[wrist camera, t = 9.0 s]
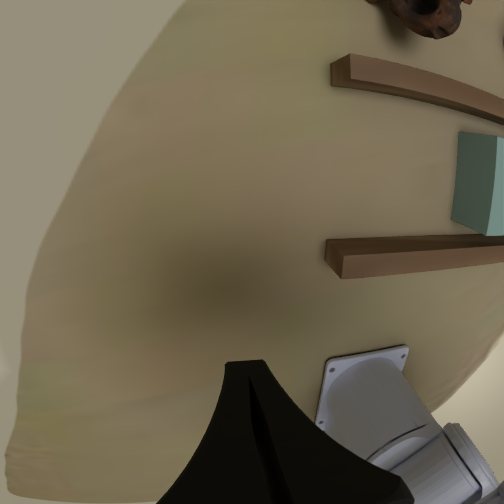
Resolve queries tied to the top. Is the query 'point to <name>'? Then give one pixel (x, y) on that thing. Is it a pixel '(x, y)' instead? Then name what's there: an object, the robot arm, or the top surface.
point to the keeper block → (480, 183)
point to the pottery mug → (428, 15)
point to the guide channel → (412, 247)
